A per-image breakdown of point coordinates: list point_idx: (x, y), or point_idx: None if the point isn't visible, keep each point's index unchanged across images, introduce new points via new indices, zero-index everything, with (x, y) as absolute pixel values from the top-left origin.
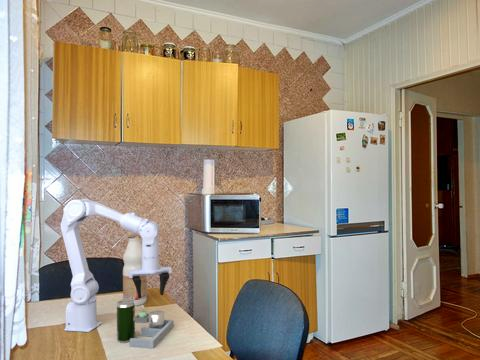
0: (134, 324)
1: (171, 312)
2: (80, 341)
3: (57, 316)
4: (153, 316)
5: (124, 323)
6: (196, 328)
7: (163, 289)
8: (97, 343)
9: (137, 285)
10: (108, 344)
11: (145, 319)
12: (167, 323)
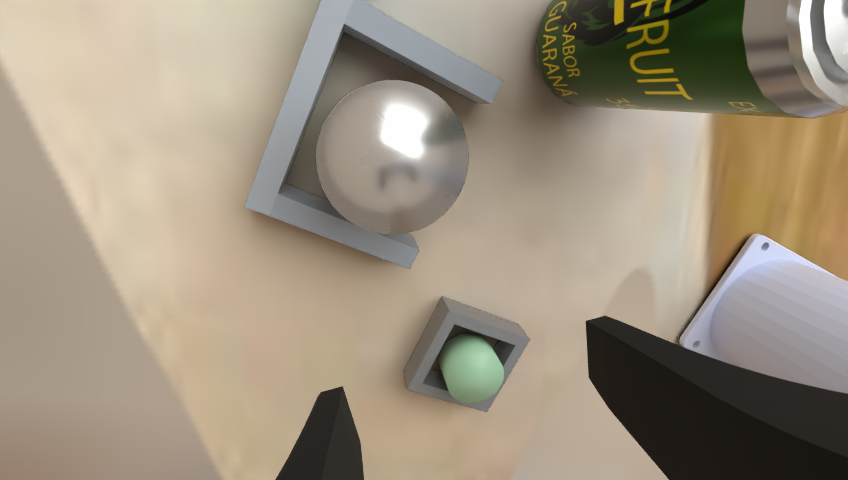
0: (590, 8)
1: (279, 442)
2: None
3: None
4: (425, 88)
5: None
6: (46, 99)
7: (308, 440)
8: None
9: (798, 394)
10: None
11: (455, 309)
12: (294, 139)
